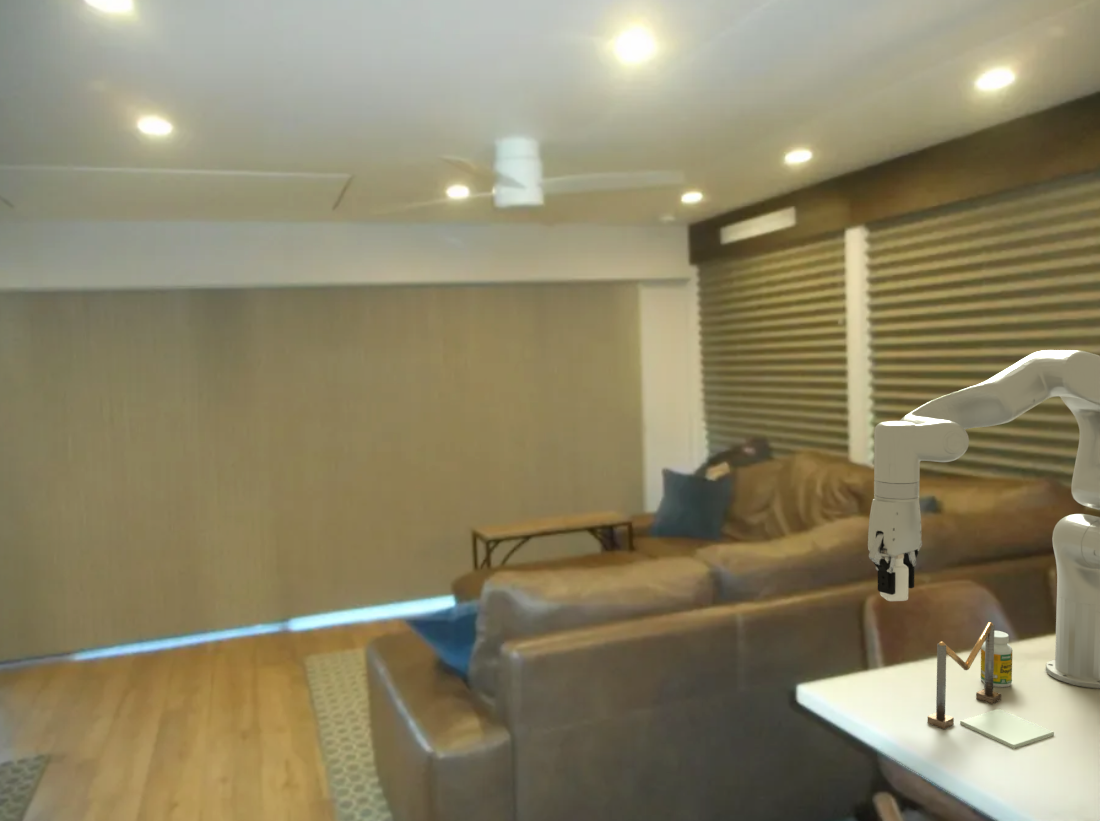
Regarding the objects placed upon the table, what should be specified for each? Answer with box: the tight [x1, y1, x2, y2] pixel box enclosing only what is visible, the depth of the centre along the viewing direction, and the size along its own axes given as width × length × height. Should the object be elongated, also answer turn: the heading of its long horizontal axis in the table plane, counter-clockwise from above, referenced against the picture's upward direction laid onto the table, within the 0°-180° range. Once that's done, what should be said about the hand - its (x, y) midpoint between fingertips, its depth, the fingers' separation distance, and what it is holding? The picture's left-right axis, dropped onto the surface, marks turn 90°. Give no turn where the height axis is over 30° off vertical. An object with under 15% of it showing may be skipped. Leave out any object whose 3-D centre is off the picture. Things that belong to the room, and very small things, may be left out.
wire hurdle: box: [927, 621, 1002, 730], centre depth 151 cm, size 19×3×14 cm, turn 125°
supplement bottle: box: [980, 630, 1013, 688], centre depth 163 cm, size 5×5×10 cm
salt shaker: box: [879, 550, 909, 602], centre depth 154 cm, size 4×4×10 cm
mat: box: [959, 708, 1055, 749], centre depth 144 cm, size 10×10×1 cm
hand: (896, 588), depth 154 cm, fingers closed on salt shaker, 5 cm apart
